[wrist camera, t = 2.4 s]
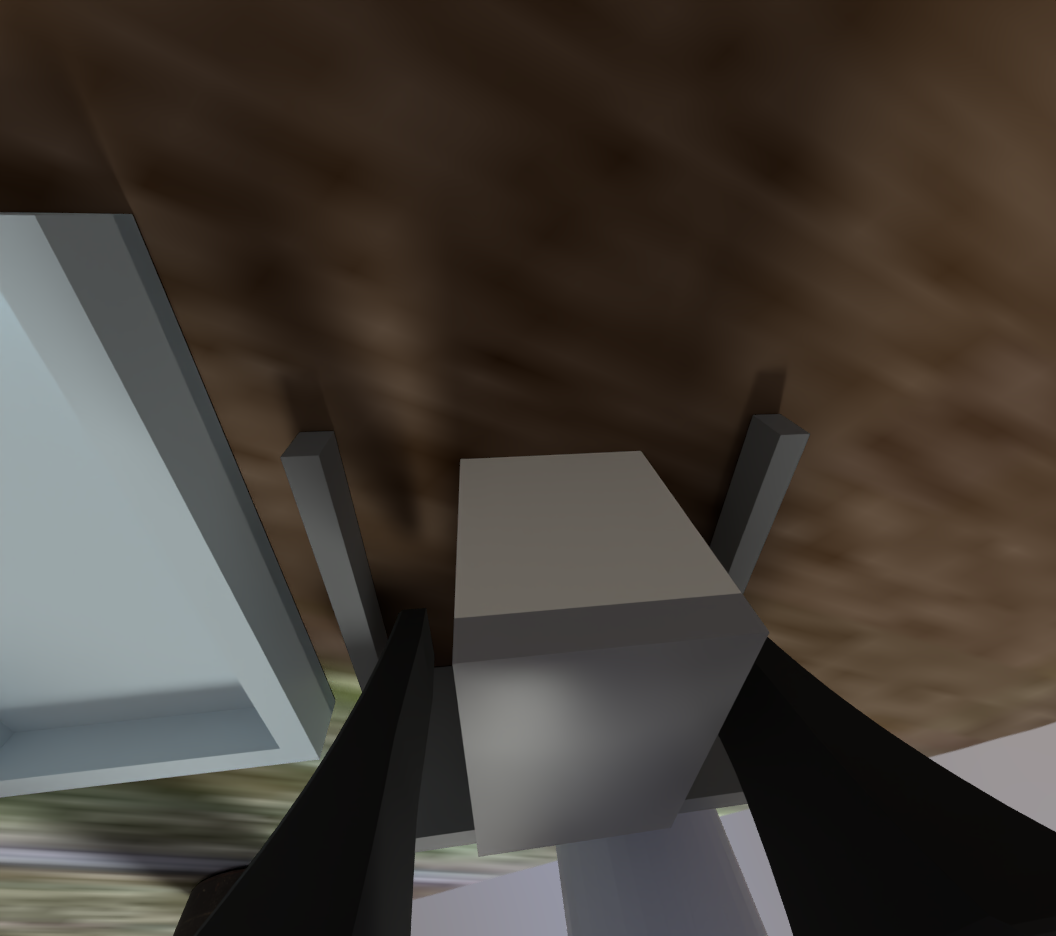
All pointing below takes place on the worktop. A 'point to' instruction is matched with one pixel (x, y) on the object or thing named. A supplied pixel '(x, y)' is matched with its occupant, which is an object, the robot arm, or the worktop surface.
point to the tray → (128, 537)
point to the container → (205, 901)
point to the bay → (361, 624)
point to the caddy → (587, 648)
